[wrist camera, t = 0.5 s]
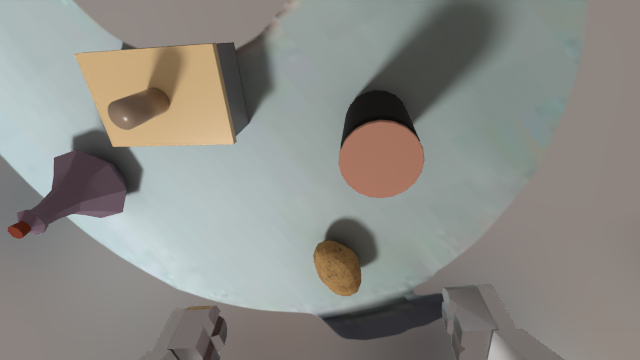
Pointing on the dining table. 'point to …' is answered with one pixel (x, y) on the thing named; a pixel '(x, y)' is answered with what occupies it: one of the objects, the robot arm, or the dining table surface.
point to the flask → (75, 193)
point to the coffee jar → (379, 146)
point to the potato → (337, 267)
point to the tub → (233, 85)
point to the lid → (160, 95)
